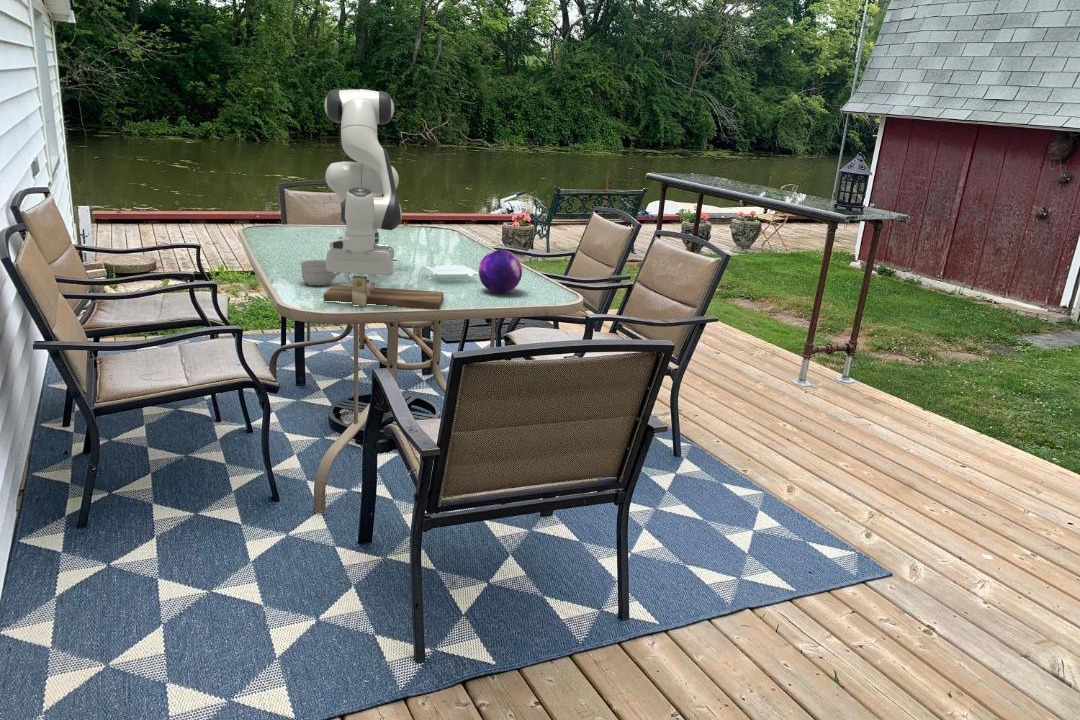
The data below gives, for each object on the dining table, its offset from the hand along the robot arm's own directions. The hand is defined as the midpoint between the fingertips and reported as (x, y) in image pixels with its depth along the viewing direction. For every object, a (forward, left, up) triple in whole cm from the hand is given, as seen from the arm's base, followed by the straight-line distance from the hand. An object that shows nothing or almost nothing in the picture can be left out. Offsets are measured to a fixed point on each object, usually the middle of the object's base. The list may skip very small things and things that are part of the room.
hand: (359, 287), depth 249 cm
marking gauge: (-6, 0, -6) cm, 9 cm away
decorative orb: (-31, +42, -6) cm, 53 cm away
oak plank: (-9, +6, -6) cm, 12 cm away
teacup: (-26, -18, -6) cm, 32 cm away
